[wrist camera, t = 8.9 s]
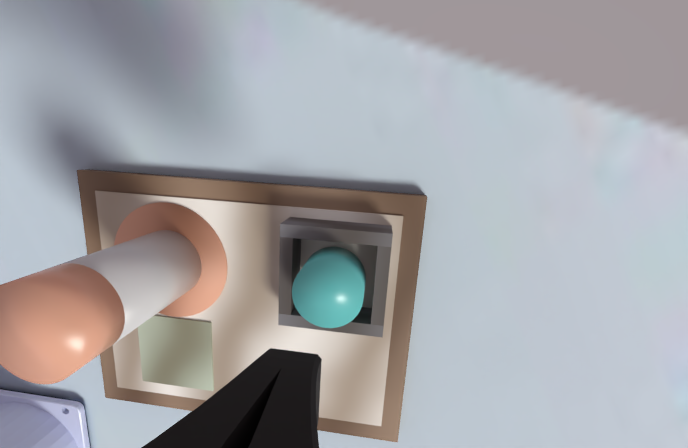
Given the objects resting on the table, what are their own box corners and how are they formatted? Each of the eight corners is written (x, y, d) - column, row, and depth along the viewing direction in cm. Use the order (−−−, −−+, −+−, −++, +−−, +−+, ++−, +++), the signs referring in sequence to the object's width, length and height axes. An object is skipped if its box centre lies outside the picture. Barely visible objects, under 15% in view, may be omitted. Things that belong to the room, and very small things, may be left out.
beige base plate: (113, 390, 20) (80, 419, 18) (87, 169, 17) (43, 172, 15) (396, 433, 19) (398, 471, 16) (425, 194, 16) (432, 202, 13)
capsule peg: (142, 292, 18) (-8, 379, 11) (133, 228, 17) (-34, 279, 10) (204, 295, 17) (89, 388, 10) (198, 231, 16) (69, 285, 10)
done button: (302, 302, 16) (291, 323, 14) (304, 243, 15) (292, 257, 13) (363, 309, 15) (360, 332, 13) (368, 249, 15) (366, 264, 13)
